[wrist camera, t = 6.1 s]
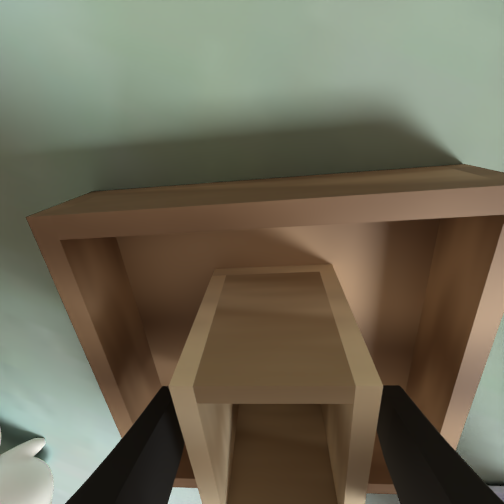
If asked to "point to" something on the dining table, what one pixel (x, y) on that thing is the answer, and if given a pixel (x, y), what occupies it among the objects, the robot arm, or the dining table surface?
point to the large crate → (290, 254)
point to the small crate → (277, 390)
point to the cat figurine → (25, 475)
